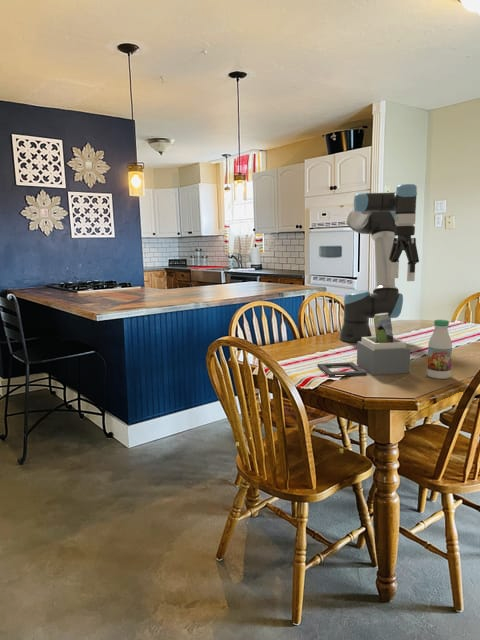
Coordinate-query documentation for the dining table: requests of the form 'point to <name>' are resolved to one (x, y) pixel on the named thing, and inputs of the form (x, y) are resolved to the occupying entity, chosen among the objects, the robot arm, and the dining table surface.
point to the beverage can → (383, 328)
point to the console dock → (383, 356)
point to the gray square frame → (351, 373)
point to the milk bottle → (439, 351)
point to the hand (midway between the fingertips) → (402, 279)
